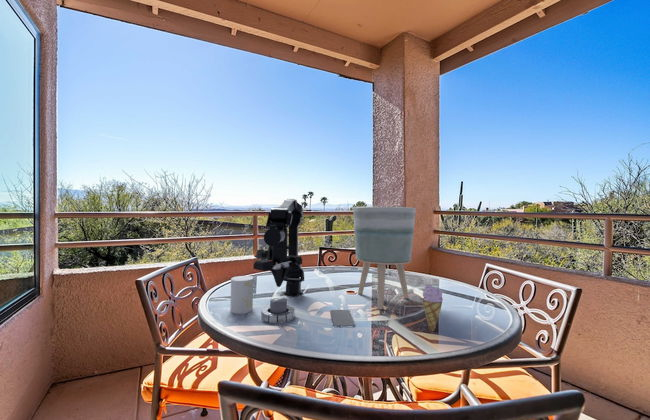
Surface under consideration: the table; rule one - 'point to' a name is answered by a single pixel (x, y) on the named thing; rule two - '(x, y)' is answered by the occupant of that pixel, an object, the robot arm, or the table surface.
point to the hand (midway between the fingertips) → (278, 286)
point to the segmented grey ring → (277, 315)
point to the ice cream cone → (432, 305)
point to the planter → (383, 242)
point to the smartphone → (341, 318)
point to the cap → (278, 305)
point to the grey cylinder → (241, 294)
